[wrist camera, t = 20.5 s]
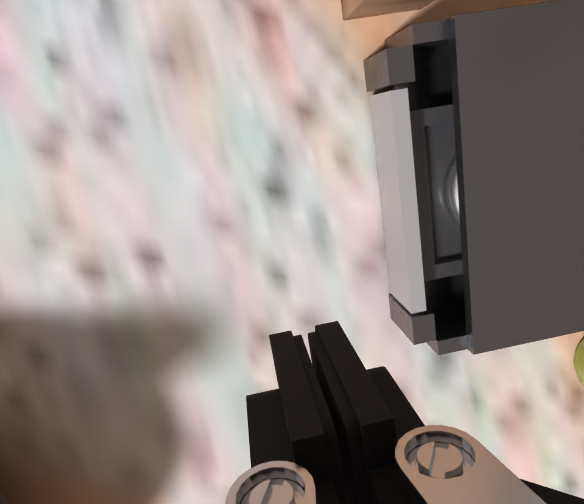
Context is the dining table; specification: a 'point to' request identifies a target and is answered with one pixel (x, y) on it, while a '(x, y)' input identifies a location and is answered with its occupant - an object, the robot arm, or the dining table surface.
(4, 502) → the bowl of black rocks
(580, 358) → the plant pot
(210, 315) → the dining table surface
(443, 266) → the tray
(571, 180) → the player
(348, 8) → the block
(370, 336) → the dining table surface
